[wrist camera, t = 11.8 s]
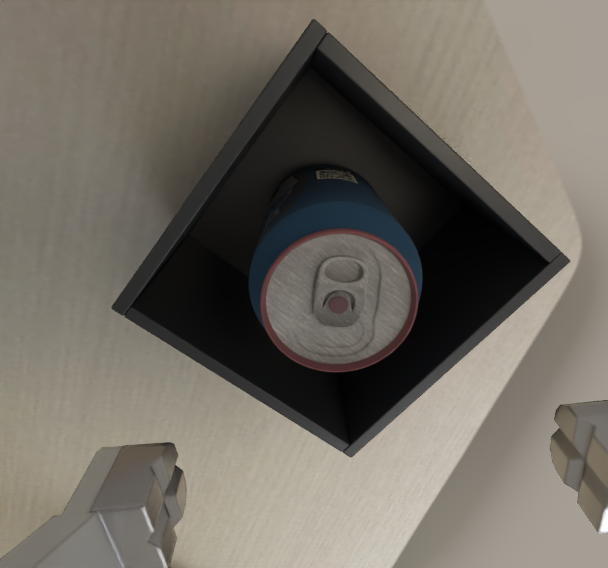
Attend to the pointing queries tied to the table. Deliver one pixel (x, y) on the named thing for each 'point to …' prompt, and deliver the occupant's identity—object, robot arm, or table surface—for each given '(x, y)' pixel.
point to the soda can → (334, 272)
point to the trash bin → (400, 201)
